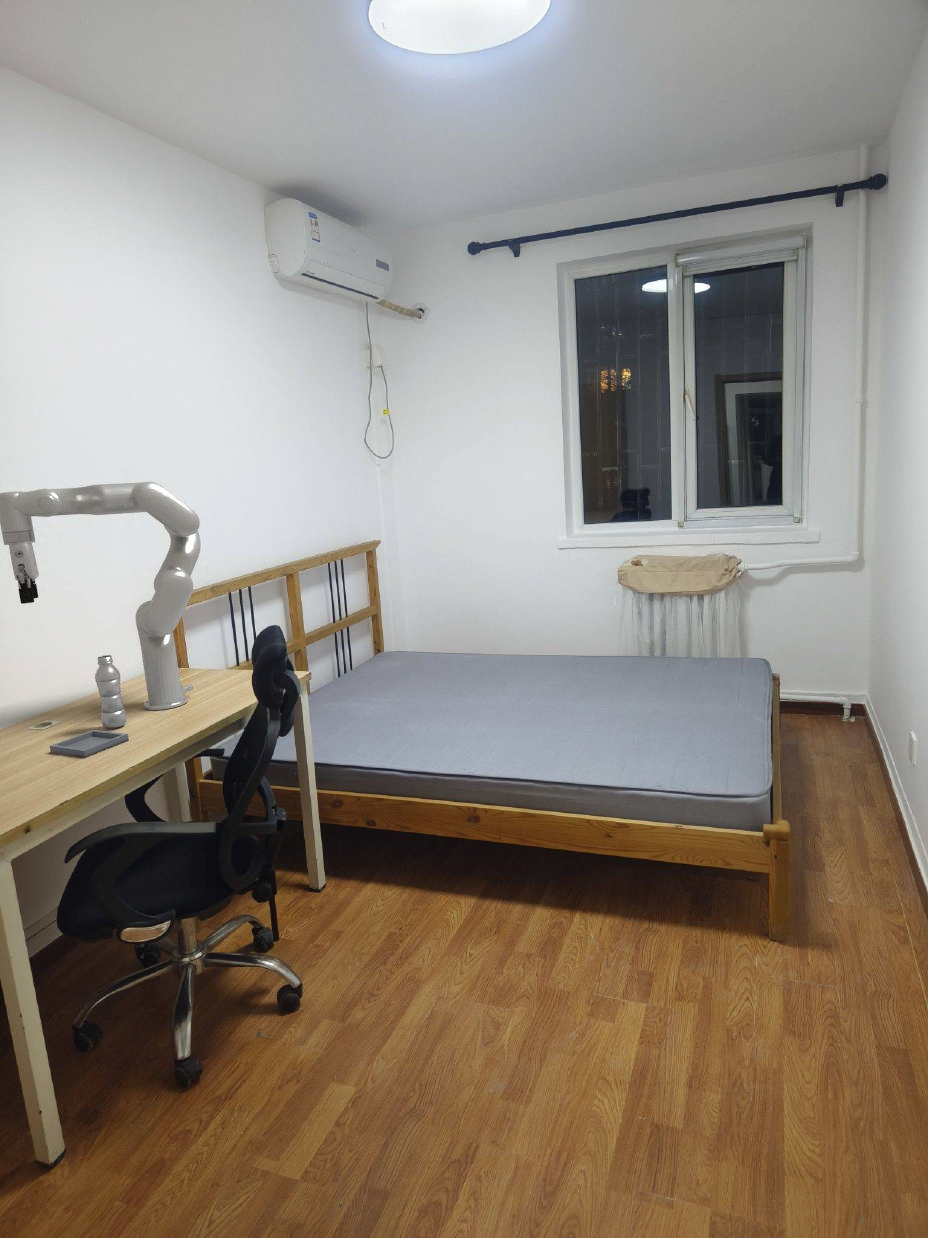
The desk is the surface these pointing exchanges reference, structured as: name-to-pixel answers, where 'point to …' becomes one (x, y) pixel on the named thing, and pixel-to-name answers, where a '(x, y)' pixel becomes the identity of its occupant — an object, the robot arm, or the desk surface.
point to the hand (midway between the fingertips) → (30, 600)
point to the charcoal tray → (89, 743)
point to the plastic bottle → (110, 693)
